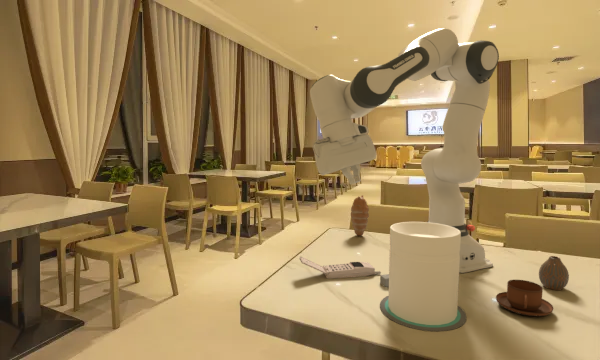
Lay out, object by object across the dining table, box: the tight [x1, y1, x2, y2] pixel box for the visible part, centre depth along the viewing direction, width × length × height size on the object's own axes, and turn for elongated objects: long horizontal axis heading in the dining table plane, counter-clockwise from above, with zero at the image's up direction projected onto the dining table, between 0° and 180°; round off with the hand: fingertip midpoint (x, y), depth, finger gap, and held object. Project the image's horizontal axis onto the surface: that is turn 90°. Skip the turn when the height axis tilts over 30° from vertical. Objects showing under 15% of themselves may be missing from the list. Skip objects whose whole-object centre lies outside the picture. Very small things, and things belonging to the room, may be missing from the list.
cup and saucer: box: [495, 279, 554, 317], centre depth 87 cm, size 12×12×6 cm
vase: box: [538, 255, 570, 291], centre depth 100 cm, size 7×7×9 cm
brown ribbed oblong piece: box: [350, 194, 370, 237], centre depth 156 cm, size 9×8×18 cm
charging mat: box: [379, 273, 467, 332], centre depth 91 cm, size 20×28×2 cm
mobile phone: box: [299, 256, 382, 280], centre depth 110 cm, size 6×6×25 cm
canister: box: [388, 221, 461, 325], centre depth 86 cm, size 16×16×20 cm
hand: (355, 183), depth 96 cm, fingers closed
